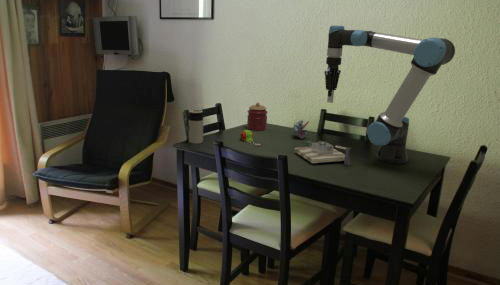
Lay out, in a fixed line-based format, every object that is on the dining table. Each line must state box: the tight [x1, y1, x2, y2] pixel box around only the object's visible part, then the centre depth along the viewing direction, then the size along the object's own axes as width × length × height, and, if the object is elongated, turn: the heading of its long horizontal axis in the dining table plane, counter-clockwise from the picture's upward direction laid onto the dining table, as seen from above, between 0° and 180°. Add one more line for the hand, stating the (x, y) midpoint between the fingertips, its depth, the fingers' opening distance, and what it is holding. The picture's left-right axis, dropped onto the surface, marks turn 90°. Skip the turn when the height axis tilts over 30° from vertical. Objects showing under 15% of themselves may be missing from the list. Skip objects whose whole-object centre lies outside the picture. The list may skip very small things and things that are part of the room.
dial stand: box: [335, 145, 352, 167], centre depth 191 cm, size 8×2×8 cm, turn 48°
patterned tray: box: [294, 140, 345, 164], centre depth 201 cm, size 24×20×4 cm
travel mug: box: [188, 109, 204, 144], centre depth 218 cm, size 8×8×18 cm
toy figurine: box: [290, 119, 310, 140], centre depth 237 cm, size 11×11×12 cm
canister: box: [246, 102, 268, 132], centre depth 254 cm, size 13×13×18 cm
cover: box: [312, 140, 335, 155], centre depth 198 cm, size 8×8×5 cm
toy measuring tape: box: [239, 129, 261, 147], centre depth 224 cm, size 6×20×7 cm, turn 31°
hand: (330, 102), depth 208 cm, fingers closed
